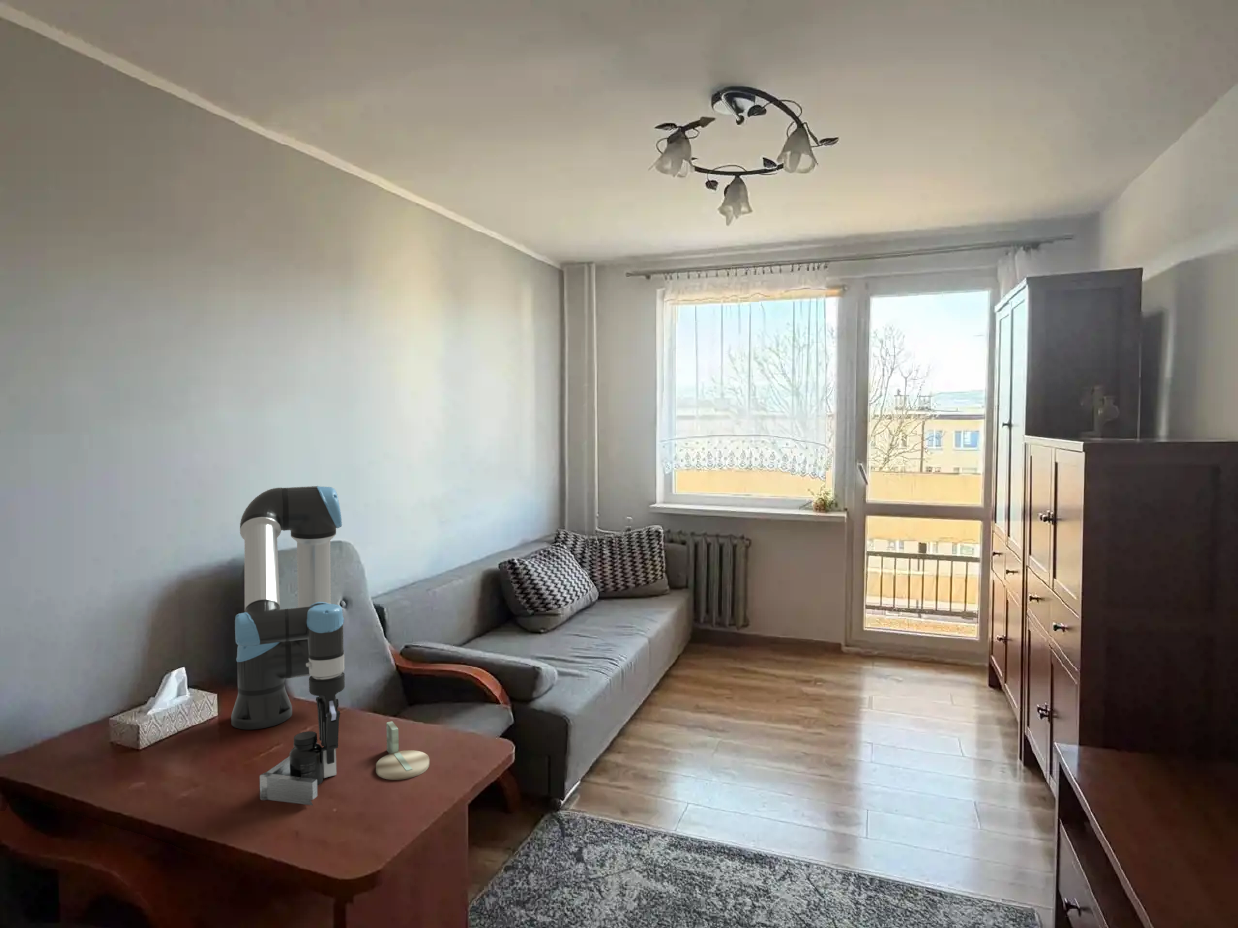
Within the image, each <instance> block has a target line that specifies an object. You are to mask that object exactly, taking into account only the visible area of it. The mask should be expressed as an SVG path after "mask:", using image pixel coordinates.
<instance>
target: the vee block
mask: <svg viewBox="0 0 1238 928" xmlns="http://www.w3.org/2000/svg"><path fill="white" fill-rule="evenodd" d="M317 797H318V786H317V779H312V778H303V777H294V776H290V755H289V756H287V757H286V758H285V759H283V760H282V761H281V762H279V763H277V764H276V765H274V766H273V767H272V768H270V769H269V770H268V771H266V772H264V773H262V774H260V775H259V799H260V800H261V801H276V802H284V803H290V804H300V805H307V806H314V805H313V802H312V801H313V800H314V799H316V798H317Z"/></svg>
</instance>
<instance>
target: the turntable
mask: <svg viewBox="0 0 1238 928" xmlns="http://www.w3.org/2000/svg"><path fill="white" fill-rule="evenodd" d="M399 740H400V739H399V728H398V727H397V726H396V724H395V723H394V722H393V720H391V721H388V722H386V751H387V752H388V754H386V755H384V756H382V757H381V758H379V760H378V761H376V763H375V773H376V775H377V776H378V777H379V778H382V779H384V780H385V779H386V780H390V781H401V780H408V779H412V778H414V777H418V776H420V775H421V774H423V773H425V772H427V770H428V768H429V767H430V757H429V755H428V754H427V753H425V752H423V751H419V750H413V749H412V750H411V749H410V750H399V747H400V745H399V742H400V741H399Z"/></svg>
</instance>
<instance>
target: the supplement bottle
mask: <svg viewBox="0 0 1238 928" xmlns="http://www.w3.org/2000/svg"><path fill="white" fill-rule="evenodd" d="M317 734H318V733H317V732H316V731H312V730H310V731H303V732H300V733H297V734H295V735H294V736H293V748H292V749H291V750H290V751H289V756H290V776H294V777H303V778H312V779H317V787H318V786H319V785H321V784H322V783H323V781H324V777H323V754H322V751H321V748H322V747H323V746H322V745H321V743H318V735H317Z"/></svg>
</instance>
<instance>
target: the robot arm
mask: <svg viewBox="0 0 1238 928" xmlns="http://www.w3.org/2000/svg"><path fill="white" fill-rule="evenodd" d="M341 513H342V512H341V507H340V502H339V496H338V493H337V490H336V489H335V488H334V487H332V486H321V485H320V486H319V485H317V486H314V485H313V486H312V485H311V486H296V487H294V486H293V487H273V488H270V489H267V490H265V491H263V492H261V493H260V494H259V495H257V496H256V497H255V498H253V500H251V502H250V503H249V504H248V505H247V507H246V508H245V510H244V511H243V513H242V516H241V518H240V523H239V533H240V537H241V538H242V539H243V541H244V612H241V613H238V614H236V615H235V617H234V618H235V620H234V631H235V632H234V633H235V634H234V635H235V637H234V638H235V644H236V645H237V649H236V650H237V652H236V658H235V660H236V662H237V697H236V700H235V703H234V706H233V709H232V712H231V716H230V718H231V719H230V721H231V726H232V727H234V728H236V729H240V730H260V729H266V728H271V727H274V726H277V725H279V724H282V723H284V722H287V721H288V720H289V719H291V717H292V716H293V705H292V703H291V701H290V698H289V696H288V692H287V690H286V686H285V682H286V681H285V680H286V679H294V678H301V677H308V676H309V677H308V690H309V691H308V692H309V693H310V694H311V695H312V696H316V697H315V701H316V707H317V710H316V711H317V720H318V721H317V722H318V733H319V735H318V738H319V739H318V740H319V741H320V745H321V747H322V748H321V751H322V754H323V779H325V778H328V777H333V776H336V775H337V749H339V733H340V732H339V731H340V730H339V727H340V726H339V725H340V717H341V712H340V710H338V708H339V699H338V698H336V696H337V694H338V693H341V692H343V691H344V690H345V687H346V682H345V681H346V679H345V675H346V674H345V673H344V671H345V650H344V623H345V618H344V614H343V608H342V606H341V605H339V604H335V603H332V601H331V600H332V599H331V598H332V596H331V594H332V593H331V589H332V588H331V586H332V585H331V583H332V581H331V580H332V578H331V577H332V576H331V575H332V574H331V572H332V571H331V563H332V562H331V540H332V539H333V538H334V537H335V536H336V535H337V529H339V528H341V527H342V525H343V524H342V523H343V522H342V514H341ZM282 531H284V532H285V531H290V537H291V538H292V539H293V540H294V541H295V542H296V563H297V564H296V565H297V566H296V568H297V576H296V577H297V607H294V608H293V607H292V608H281V603H280V602H281V599H280V598H281V597H280V576H279V573H280V572H279V556H278V555H279V554H278V551H279V549H278V548H279V547H278V538H279V536H280V535H281V533H282Z"/></svg>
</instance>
